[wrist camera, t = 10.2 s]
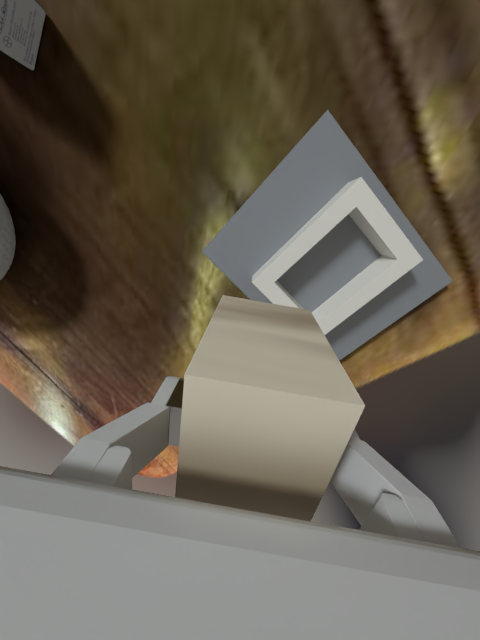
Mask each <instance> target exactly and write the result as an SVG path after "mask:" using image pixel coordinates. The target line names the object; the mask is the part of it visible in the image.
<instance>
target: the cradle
mask: <svg viewBox="0 0 480 640" xmlns="http://www.w3.org/2000/svg"><path fill="white" fill-rule="evenodd" d="M202 252H203V253H204V254H205V255H206V256H207V257H208V258H209V259H210V260H211V261H212V262H213V263H214V264H215V265H216V266H217V267H218V268H219V269H220V270H221V271H222V272H223V273H224V274H225V275H226V276H227V277H228V278H229V279H230V280H231V281H232V282H233V283H234V284H235V285H236V286H237V287H238V288H239V289H240V290H241V291H242V292H243V293H244V294H245V295H246V296H247V297H248V298H249V299H250V300H254V301H260V302H265V303H271V304H277V305H283V306H289V307H295V308H300V309H306V310H310V311H311V313H312V314H313V316H314V318H315V320H316V321H317V323H318V325H319V327H320V328H321V330H322V332H323V334H324V335H325V337H326V339H327V340H328V342H329V344H330V346H331V347H332V349H333V351H334V353H335V354H336V356H337V358H338V360H339V361H340V360H341V359H342V358H344V357H345V356H347V355H348V354H350V353H351V352H352V351H354V350H355V349H357V348H358V347H359V346H361V345H362V344H364V343H365V342H367V341H368V340H369V339H371V338H372V337H374V336H375V335H377V334H378V333H379V332H381V331H382V330H384V329H385V328H386V327H388V326H389V325H391V324H392V323H394V322H395V321H396V320H398V319H399V318H401V317H402V316H404V315H405V314H406V313H408V312H409V311H411V310H412V309H414V308H415V307H416V306H418V305H419V304H421V303H422V302H423V301H425V300H426V299H428V298H429V297H431V296H432V295H433V294H435V293H436V292H438V291H439V290H441V289H442V288H443V287H445V286H446V285H448V284H449V283H451V282H452V280H451V278H450V277H449V276H448V274H447V273H446V272H445V270H444V269H443V267H442V266H441V265H440V263H439V262H438V261H437V259H436V258H435V256H434V255H433V254H432V252H431V251H430V250H429V248H428V247H427V245H426V244H425V243H424V241H423V240H422V239H421V237H420V236H419V234H418V233H417V232H416V230H415V229H414V228H413V226H412V225H411V223H410V222H409V221H408V219H407V218H406V217H405V215H404V214H403V213H402V211H401V210H400V208H399V207H398V206H397V204H396V203H395V202H394V200H393V199H392V197H391V196H390V195H389V193H388V192H387V191H386V189H385V188H384V186H383V185H382V184H381V182H380V181H379V180H378V178H377V177H376V175H375V174H374V173H373V171H372V170H371V169H370V167H369V166H368V164H367V163H366V162H365V160H364V159H363V158H362V156H361V155H360V153H359V152H358V151H357V149H356V148H355V147H354V145H353V144H352V143H351V141H350V140H349V138H348V137H347V136H346V134H345V133H344V132H343V130H342V129H341V127H340V126H339V125H338V123H337V122H336V121H335V119H334V118H333V116H332V115H331V114H330V112H329V111H328V110H327V111H326V112H325V113H324V115H323V116H322V117H321V118H320V119H319V120H318V121H317V122H316V124H315V125H314V126H313V127H312V128H311V129H310V130H309V131H308V132H307V134H306V135H305V136H304V137H303V138H302V139H301V140H300V141H299V143H298V144H297V145H296V146H295V147H294V148H293V149H292V150H291V152H290V153H289V154H288V155H287V156H286V157H285V158H284V159H283V161H282V162H281V163H280V164H279V165H278V166H277V167H276V168H275V170H274V171H273V172H272V173H271V174H270V175H269V176H268V177H267V179H266V180H265V181H264V182H263V183H262V184H261V185H260V186H259V188H258V189H257V190H256V191H255V192H254V193H253V194H252V195H251V197H250V198H249V199H248V200H247V201H246V202H245V203H244V204H243V206H242V207H241V208H240V209H239V210H238V211H237V212H236V213H235V215H234V216H233V217H232V218H231V219H230V220H229V221H228V222H227V224H226V225H225V226H224V227H223V228H222V229H221V230H220V231H219V233H218V234H217V235H216V236H215V237H214V238H213V239H212V240H211V242H210V243H209V244H208V245H207V246H206V247H205V248H204V249H203V251H202Z"/></svg>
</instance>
